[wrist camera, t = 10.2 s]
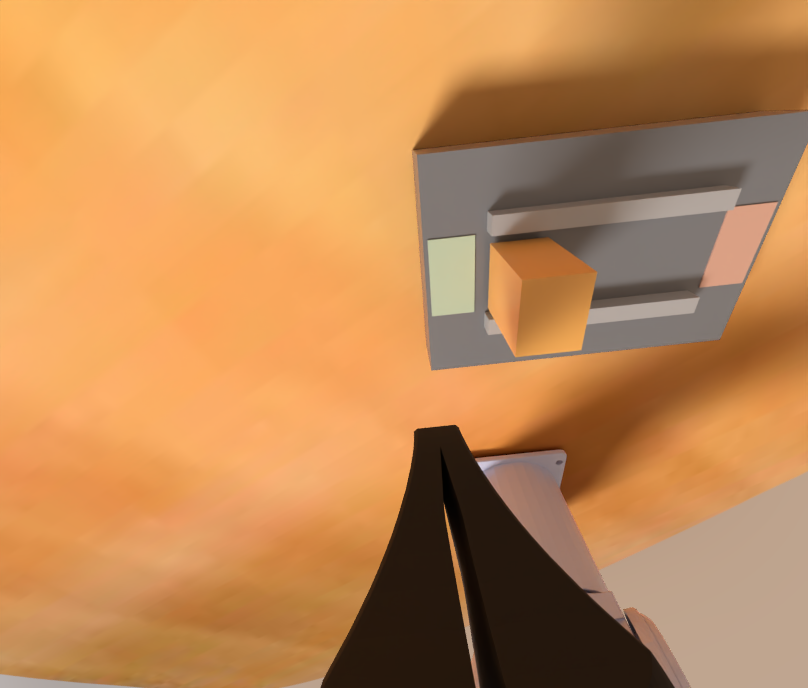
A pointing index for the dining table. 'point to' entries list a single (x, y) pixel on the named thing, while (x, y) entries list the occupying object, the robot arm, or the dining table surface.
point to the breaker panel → (605, 225)
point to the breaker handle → (539, 296)
